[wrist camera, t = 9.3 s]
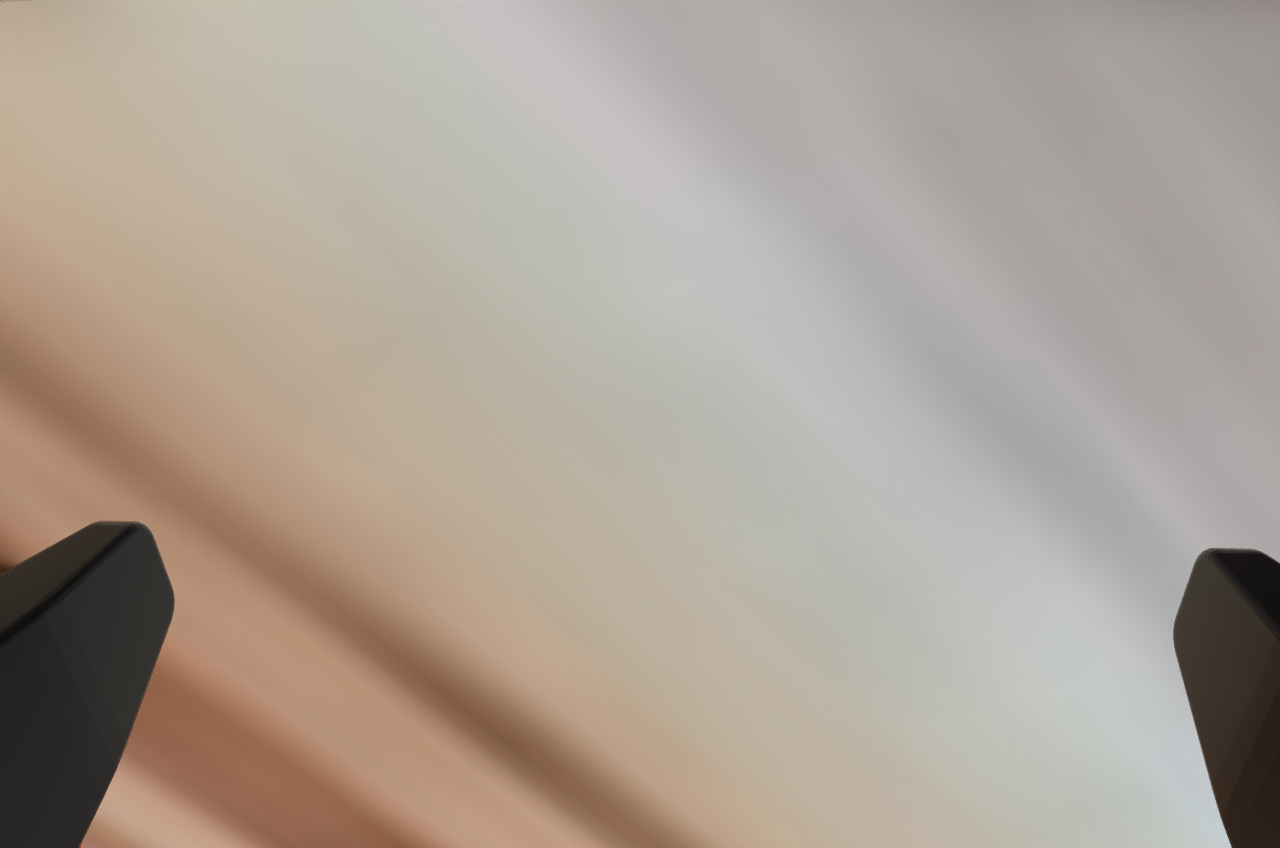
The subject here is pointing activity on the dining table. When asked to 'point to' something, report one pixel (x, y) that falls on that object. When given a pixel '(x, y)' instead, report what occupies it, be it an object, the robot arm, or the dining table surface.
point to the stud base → (11, 0)
